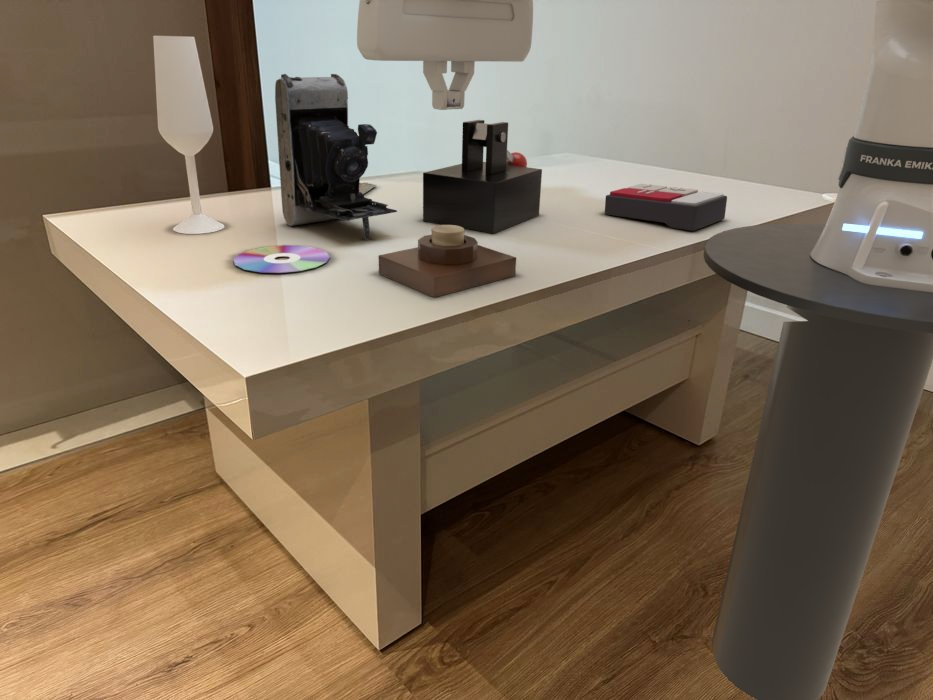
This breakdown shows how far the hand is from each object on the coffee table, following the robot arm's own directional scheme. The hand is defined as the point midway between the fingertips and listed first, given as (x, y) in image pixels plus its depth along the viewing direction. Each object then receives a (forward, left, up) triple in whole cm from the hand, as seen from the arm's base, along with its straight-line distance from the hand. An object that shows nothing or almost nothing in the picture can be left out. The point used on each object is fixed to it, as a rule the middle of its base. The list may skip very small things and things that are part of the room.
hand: (448, 109), depth 73 cm
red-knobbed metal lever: (+11, -30, -10) cm, 34 cm away
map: (+37, -25, -18) cm, 48 cm away
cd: (+19, +7, -18) cm, 27 cm away
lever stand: (+11, -26, -18) cm, 34 cm away
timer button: (0, 0, -14) cm, 14 cm away
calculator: (-11, -44, -18) cm, 49 cm away
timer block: (0, 0, -18) cm, 18 cm away
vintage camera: (+23, -8, -18) cm, 30 cm away
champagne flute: (+39, +3, -18) cm, 43 cm away
